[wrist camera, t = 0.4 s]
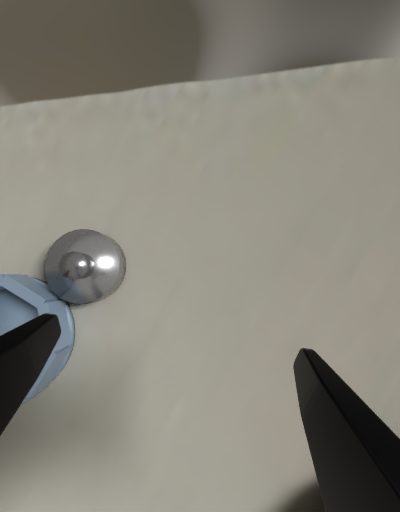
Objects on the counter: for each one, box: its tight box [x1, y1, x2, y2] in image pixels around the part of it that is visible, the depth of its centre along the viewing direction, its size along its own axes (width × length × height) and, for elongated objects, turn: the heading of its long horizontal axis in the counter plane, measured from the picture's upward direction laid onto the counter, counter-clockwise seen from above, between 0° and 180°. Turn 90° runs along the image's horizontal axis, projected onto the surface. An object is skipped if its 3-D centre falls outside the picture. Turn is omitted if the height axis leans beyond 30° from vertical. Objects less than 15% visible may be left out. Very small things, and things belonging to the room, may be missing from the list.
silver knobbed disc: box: [45, 229, 126, 304], centre depth 22 cm, size 7×7×4 cm
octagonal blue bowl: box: [0, 274, 75, 403], centre depth 21 cm, size 12×12×3 cm
